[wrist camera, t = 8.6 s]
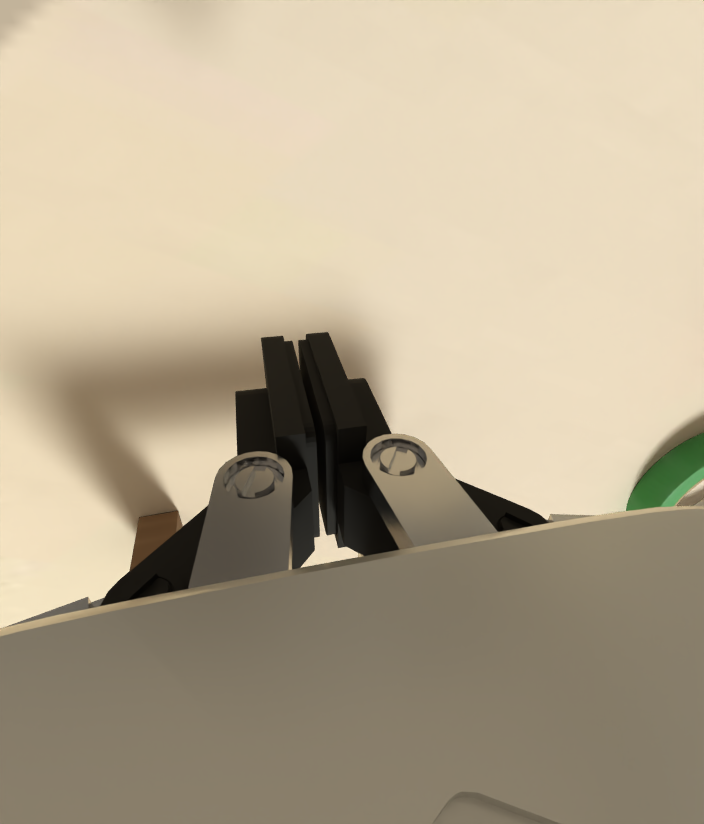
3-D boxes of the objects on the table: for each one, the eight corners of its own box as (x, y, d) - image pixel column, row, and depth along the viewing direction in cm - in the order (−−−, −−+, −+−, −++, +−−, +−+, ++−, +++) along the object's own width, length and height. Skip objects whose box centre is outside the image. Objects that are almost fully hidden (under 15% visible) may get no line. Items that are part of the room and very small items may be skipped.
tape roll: (765, 452, 38) (799, 472, 35) (662, 539, 41) (686, 563, 39) (712, 403, 32) (748, 424, 30) (598, 509, 36) (623, 534, 34)
